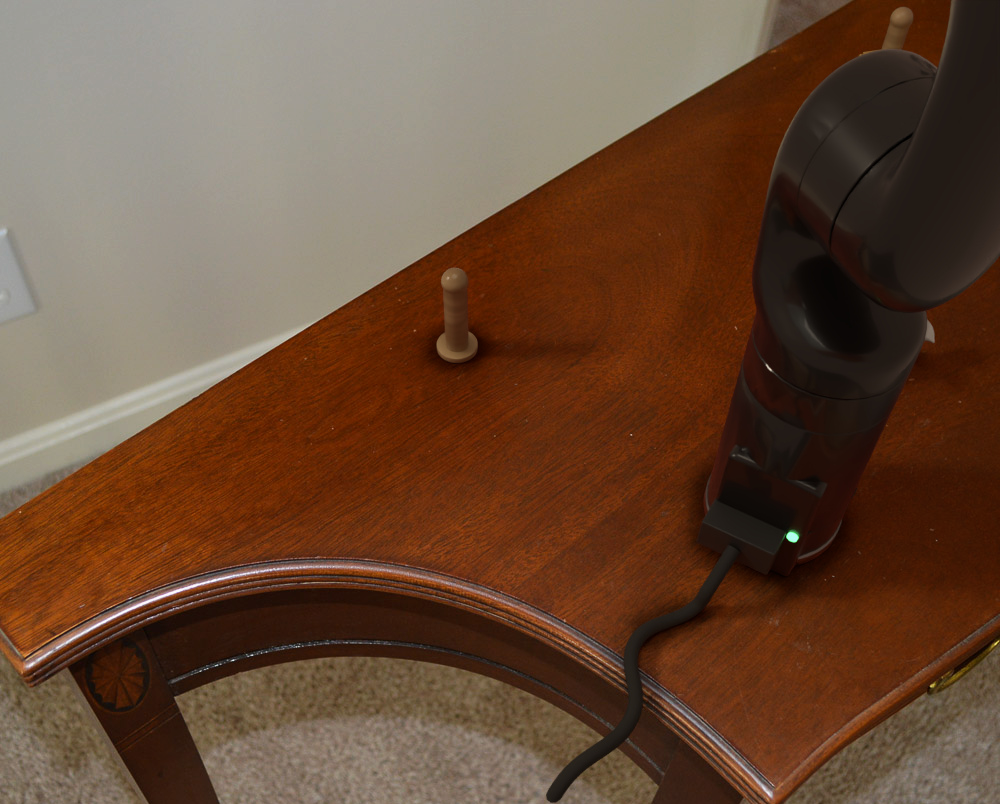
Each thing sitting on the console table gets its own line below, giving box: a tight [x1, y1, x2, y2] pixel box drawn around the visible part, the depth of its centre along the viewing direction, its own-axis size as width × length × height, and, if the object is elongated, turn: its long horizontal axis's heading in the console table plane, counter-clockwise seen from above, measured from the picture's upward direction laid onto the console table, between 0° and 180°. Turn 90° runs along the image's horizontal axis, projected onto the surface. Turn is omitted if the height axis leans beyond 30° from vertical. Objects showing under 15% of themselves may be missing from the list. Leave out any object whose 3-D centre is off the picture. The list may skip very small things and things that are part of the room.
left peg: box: [436, 267, 479, 364], centre depth 82 cm, size 3×3×8 cm
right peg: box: [880, 6, 914, 50], centre depth 102 cm, size 3×3×8 cm
